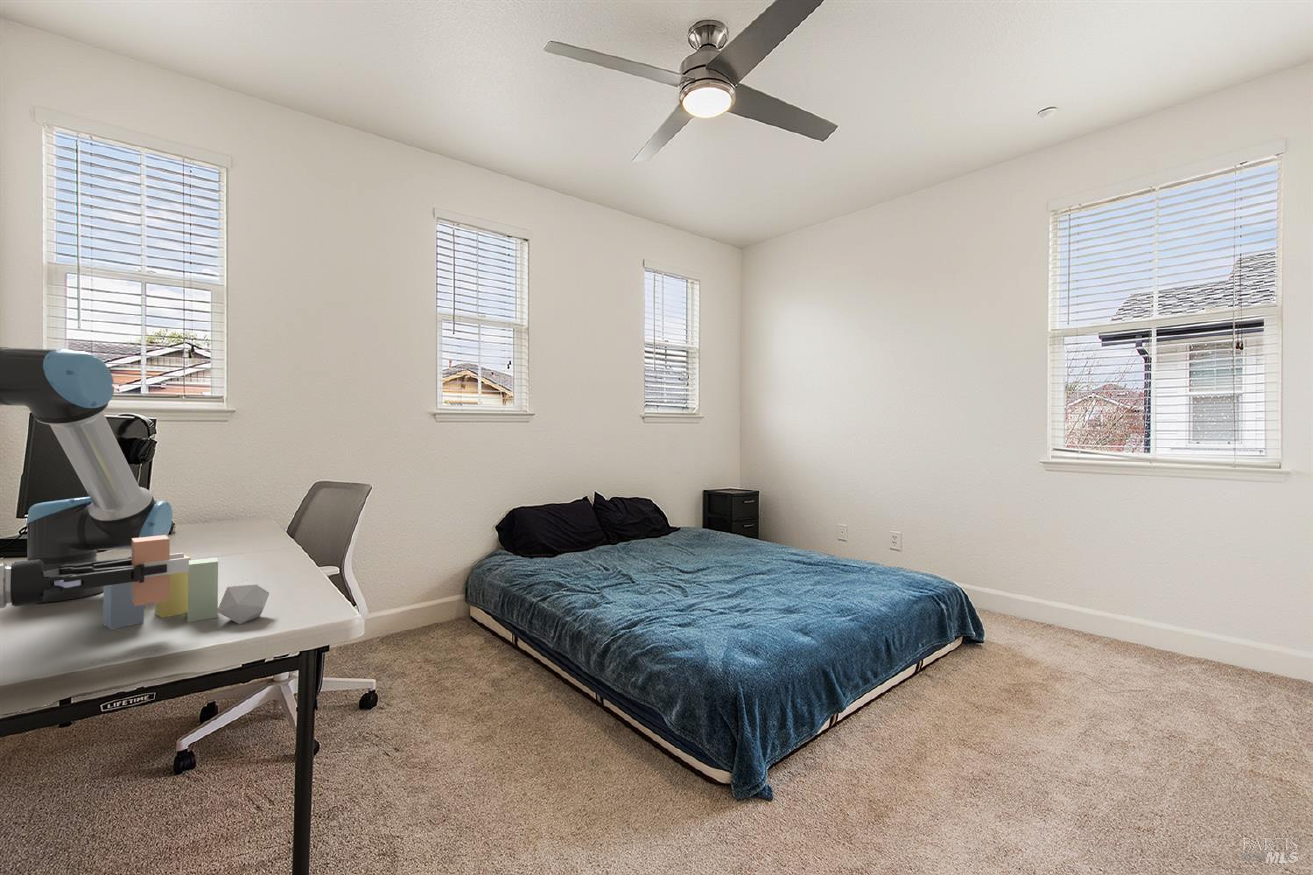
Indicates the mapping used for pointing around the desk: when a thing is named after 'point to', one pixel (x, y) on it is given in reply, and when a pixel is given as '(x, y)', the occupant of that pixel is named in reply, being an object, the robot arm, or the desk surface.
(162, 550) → the terracotta pillar
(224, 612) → the die
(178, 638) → the desk surface
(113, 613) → the slate pillar
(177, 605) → the mustard pillar
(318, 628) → the desk surface
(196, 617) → the sage pillar
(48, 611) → the desk surface
